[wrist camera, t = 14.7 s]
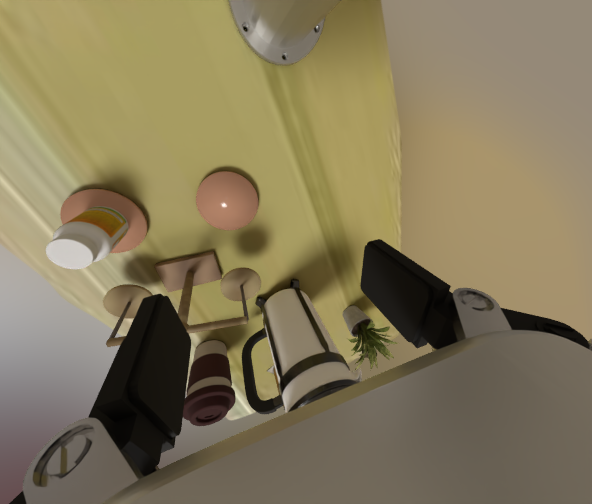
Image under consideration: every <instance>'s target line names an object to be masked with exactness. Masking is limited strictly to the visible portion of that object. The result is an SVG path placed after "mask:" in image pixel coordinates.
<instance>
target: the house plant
mask: <svg viewBox="0 0 592 504" xmlns="http://www.w3.org/2000/svg"><path fill="white" fill-rule="evenodd" d="M343 317H344V320H345V322H346V324H347V326H348V329H349V331H350V333H351V335H352V336H354V337H358V339H356V338H355V339H351V340H350V339H348V340H349V341H350V342H353V343H354V342H357V341H358V342H357V344H356V345H355V347H354V348H353V349H352V350H355V352H354V354H355V353H356V352H361V351H362V354H360V356H361V358H360V359H359V360H358V361H357V362H356V363H358V362H359V361H361V362H360V364H359V365H358V366H357V368H358V367H359V366H360V365H361V364H362V362H363V360H364V358H365V354H366V353H367V351H368V356H369V360H370V363H371V369H372V367H373V363H374V361H375V365H376V366H377V358H376V352H375V348H376V349H377V350H378V351H379V352H380V353H381V354H383V355H384V356H385V357H386V358H387V359H389V358H388V357H387V355H388V356H390V357H392V358H394V357H393V356H392V354H391V353H390V352H389V351H388V349H387V348H386V347H385V346H384V345H383V343H382V342H381V341H380V340H382V341H384V342H387V343H391V344H397V343H396V342H392V341H390V340H389V339H385V337H386V335H387V334H386V335H382V336H385V337H384V338H382V337H381V336H379V335H381V334H379V335H377V334H378V333H375V332H373V331H376V332H386V331H388V330H389V328H390V327H385V328H381V329H374V328H372V327H374V326H375V325H374V324H373V321H372V319H370V318H369V317H368V316H367V315H366V314H365V313H363V312H362V311H361V310H360V309H359V308H358V307H356V306H354V305H353V306H349V307H348V308H346V309H345V310H344V312H343ZM371 330H373V331H371ZM361 336H362V346H361V348H360V349H359V350H358V348H359V346H360V343H361ZM388 337H390V336H388ZM364 346H365V349H364ZM374 346H375V348H374ZM357 350H358V351H357ZM354 354H353V355H354ZM361 359H362V360H361ZM357 368H356V369H357ZM356 369H355V370H356Z"/></svg>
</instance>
